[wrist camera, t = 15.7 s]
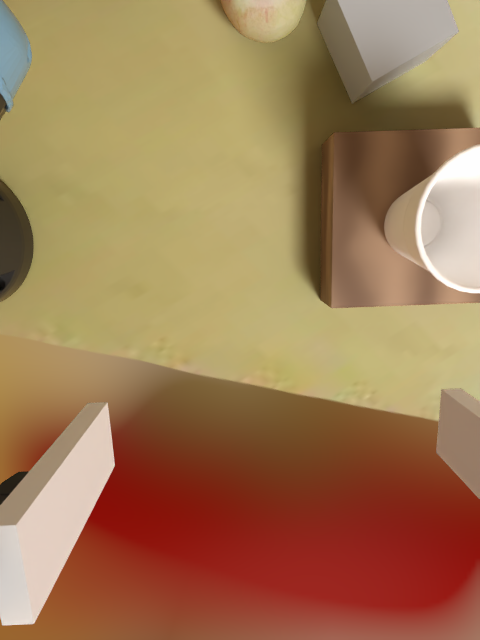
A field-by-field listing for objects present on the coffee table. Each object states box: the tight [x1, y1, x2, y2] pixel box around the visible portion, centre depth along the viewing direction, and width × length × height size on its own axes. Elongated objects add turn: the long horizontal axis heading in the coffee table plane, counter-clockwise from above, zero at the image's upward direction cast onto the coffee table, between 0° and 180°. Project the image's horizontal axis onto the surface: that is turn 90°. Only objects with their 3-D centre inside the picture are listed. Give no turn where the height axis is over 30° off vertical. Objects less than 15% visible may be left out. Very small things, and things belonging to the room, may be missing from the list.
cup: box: [384, 144, 480, 293], centre depth 32 cm, size 10×10×11 cm
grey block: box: [317, 0, 459, 104], centre depth 35 cm, size 8×8×6 cm
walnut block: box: [320, 128, 480, 308], centre depth 39 cm, size 16×16×5 cm
